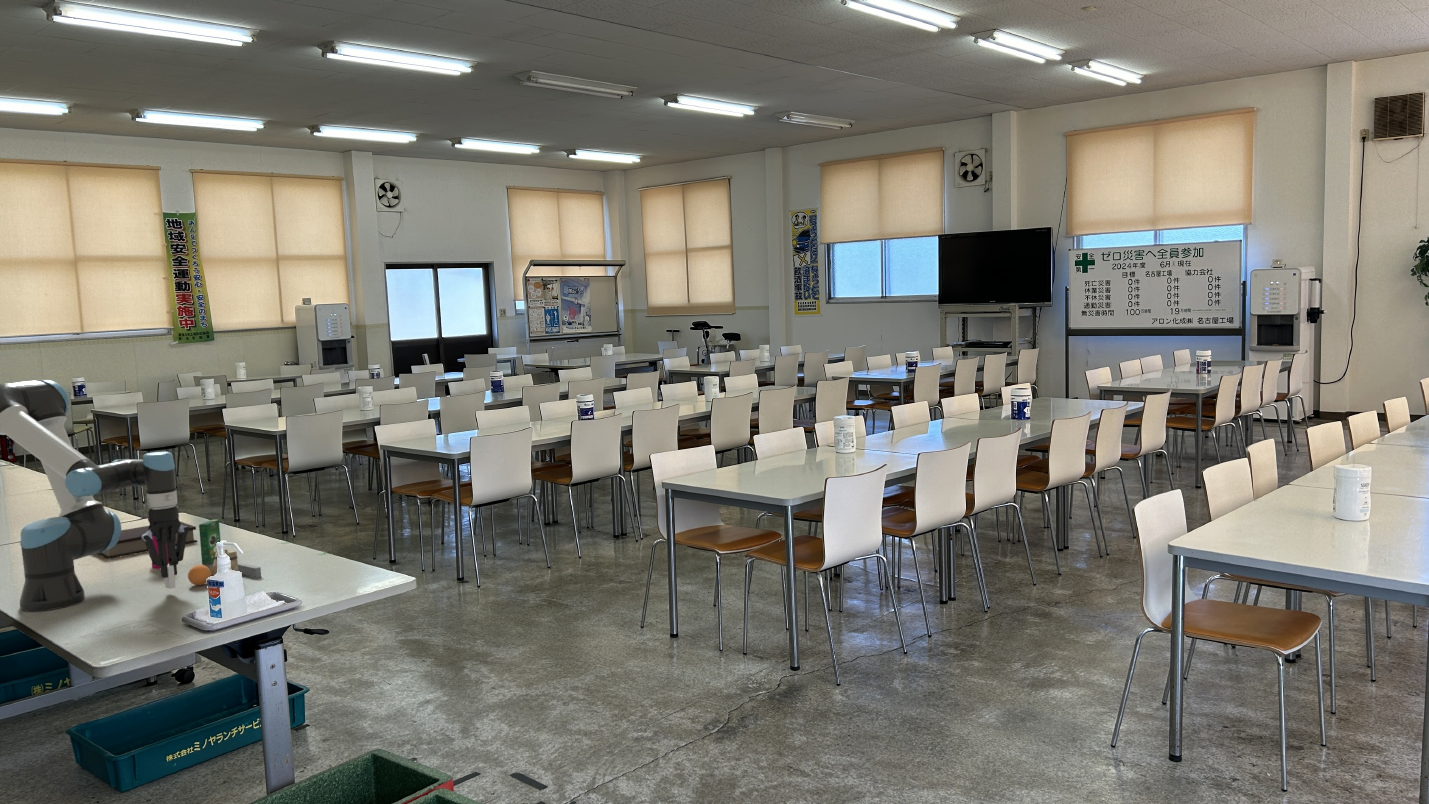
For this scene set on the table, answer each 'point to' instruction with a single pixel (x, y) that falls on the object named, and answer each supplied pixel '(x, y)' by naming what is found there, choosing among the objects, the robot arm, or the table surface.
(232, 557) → the pin
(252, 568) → the back wall
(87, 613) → the table surface
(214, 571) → the front pin
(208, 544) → the coffee box
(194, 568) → the ball
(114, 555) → the book
